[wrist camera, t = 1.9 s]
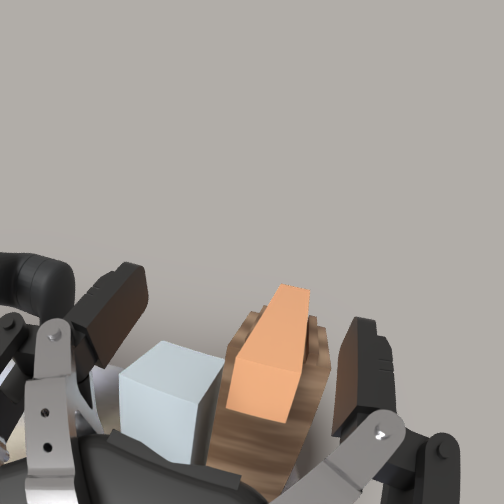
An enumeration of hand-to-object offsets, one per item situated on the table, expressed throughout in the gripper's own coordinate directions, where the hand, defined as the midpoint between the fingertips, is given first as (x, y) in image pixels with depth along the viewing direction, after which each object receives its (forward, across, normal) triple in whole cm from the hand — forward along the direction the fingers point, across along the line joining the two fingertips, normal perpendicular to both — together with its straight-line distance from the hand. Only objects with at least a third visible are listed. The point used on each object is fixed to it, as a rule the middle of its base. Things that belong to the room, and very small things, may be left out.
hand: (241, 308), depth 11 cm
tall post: (+1, -2, +46) cm, 46 cm away
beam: (+12, -2, +16) cm, 20 cm away
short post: (+1, +10, +46) cm, 47 cm away
